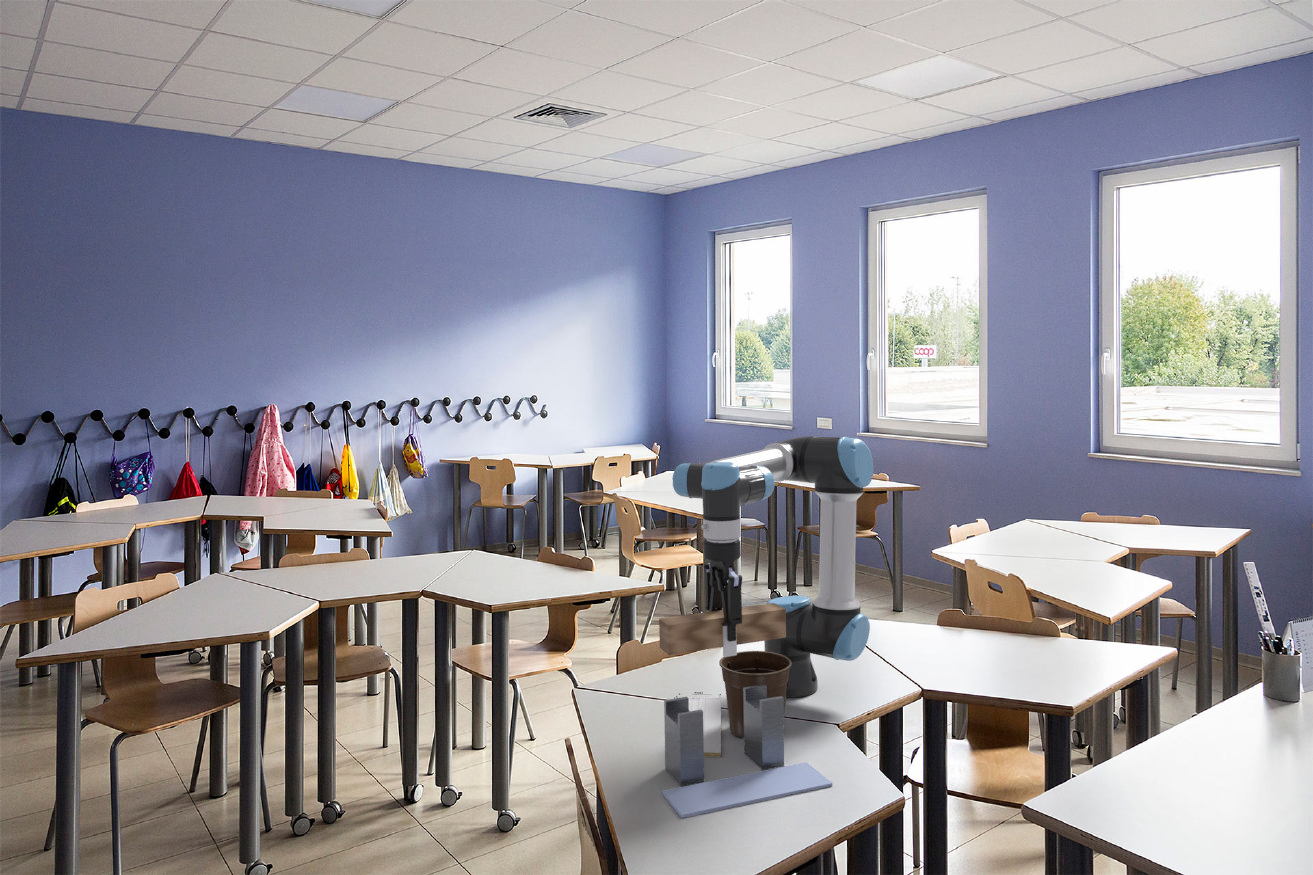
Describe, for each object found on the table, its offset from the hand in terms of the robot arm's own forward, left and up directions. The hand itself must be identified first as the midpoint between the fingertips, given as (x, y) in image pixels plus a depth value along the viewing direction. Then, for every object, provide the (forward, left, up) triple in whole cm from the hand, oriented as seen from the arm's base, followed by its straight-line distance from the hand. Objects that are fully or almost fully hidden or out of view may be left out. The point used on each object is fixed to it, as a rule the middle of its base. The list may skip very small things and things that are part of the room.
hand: (723, 651), depth 179 cm
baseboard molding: (-2, -21, -25) cm, 33 cm away
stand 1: (+9, 0, -24) cm, 26 cm away
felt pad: (0, +11, -24) cm, 27 cm away
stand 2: (-9, 0, -24) cm, 26 cm away
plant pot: (-14, -14, -25) cm, 32 cm away
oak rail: (0, 0, +2) cm, 2 cm away
